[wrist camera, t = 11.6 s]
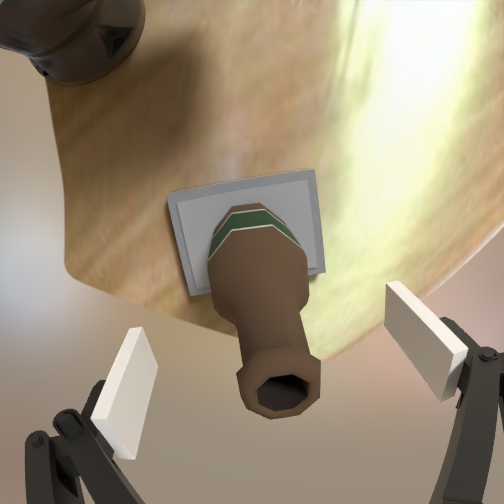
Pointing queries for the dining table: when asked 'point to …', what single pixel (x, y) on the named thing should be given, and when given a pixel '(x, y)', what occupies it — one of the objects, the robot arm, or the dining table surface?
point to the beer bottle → (265, 309)
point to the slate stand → (239, 193)
